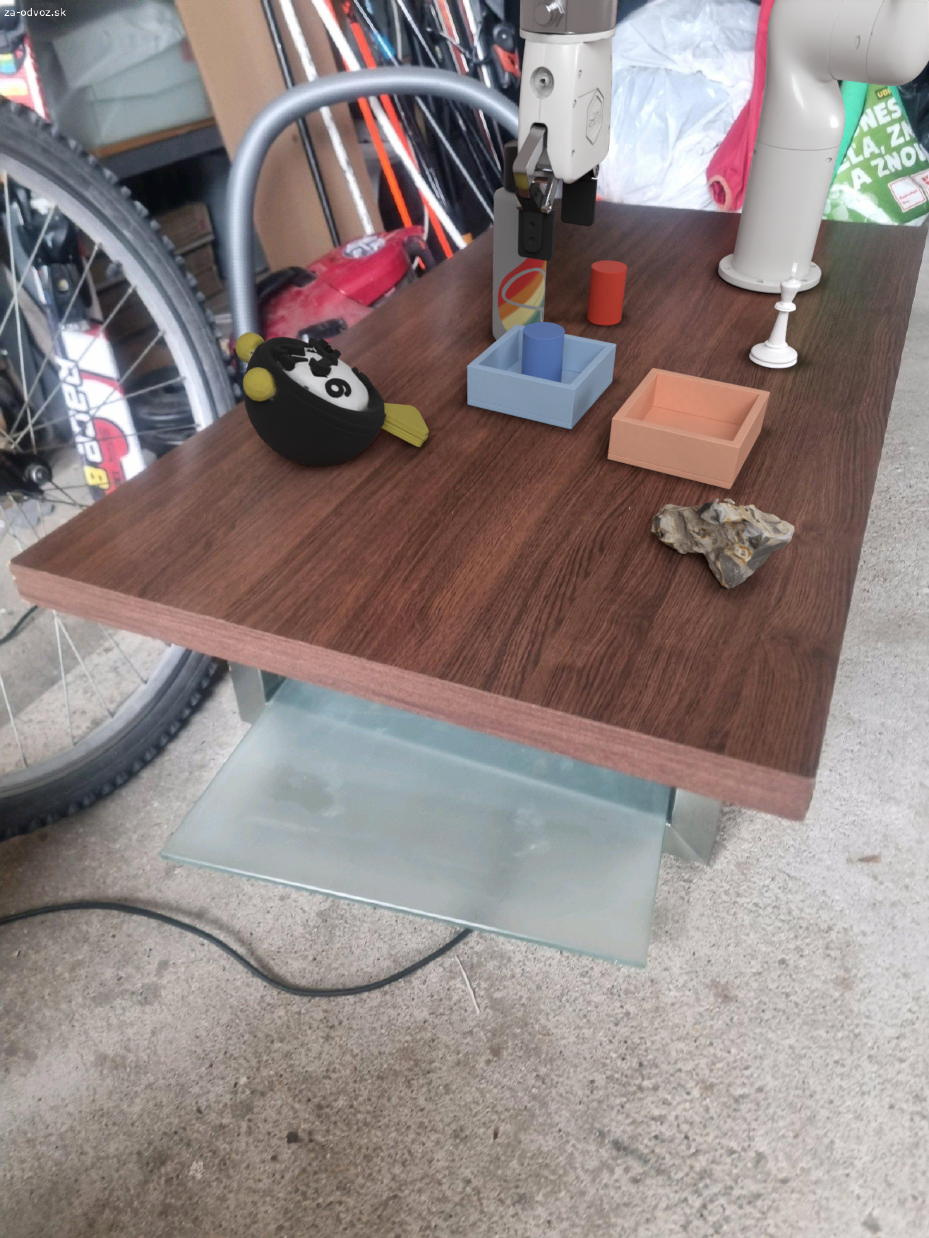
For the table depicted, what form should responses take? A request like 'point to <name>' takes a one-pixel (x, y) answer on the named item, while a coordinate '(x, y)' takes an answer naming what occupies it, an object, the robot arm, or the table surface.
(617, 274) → the red peg
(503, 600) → the table surface
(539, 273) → the lotion bottle
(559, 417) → the blue bin
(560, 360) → the blue peg
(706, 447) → the orange bin
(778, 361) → the chess piece
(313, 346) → the alarm clock
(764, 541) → the rock
